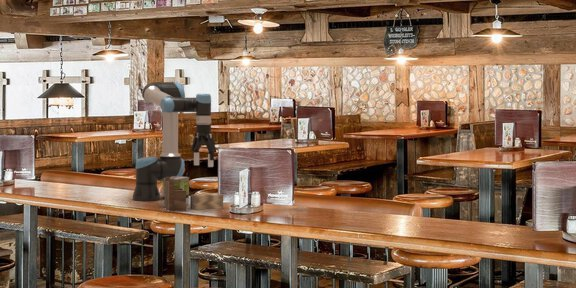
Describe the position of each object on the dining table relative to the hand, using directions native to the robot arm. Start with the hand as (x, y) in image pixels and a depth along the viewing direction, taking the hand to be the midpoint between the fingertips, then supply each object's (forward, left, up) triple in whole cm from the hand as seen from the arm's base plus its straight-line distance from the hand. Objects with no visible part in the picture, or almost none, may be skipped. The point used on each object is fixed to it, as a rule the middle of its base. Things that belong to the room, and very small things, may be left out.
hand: (203, 166), depth 451 cm
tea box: (-18, -11, -22) cm, 31 cm away
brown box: (-2, -14, -22) cm, 26 cm away
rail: (-2, +2, -22) cm, 22 cm away
